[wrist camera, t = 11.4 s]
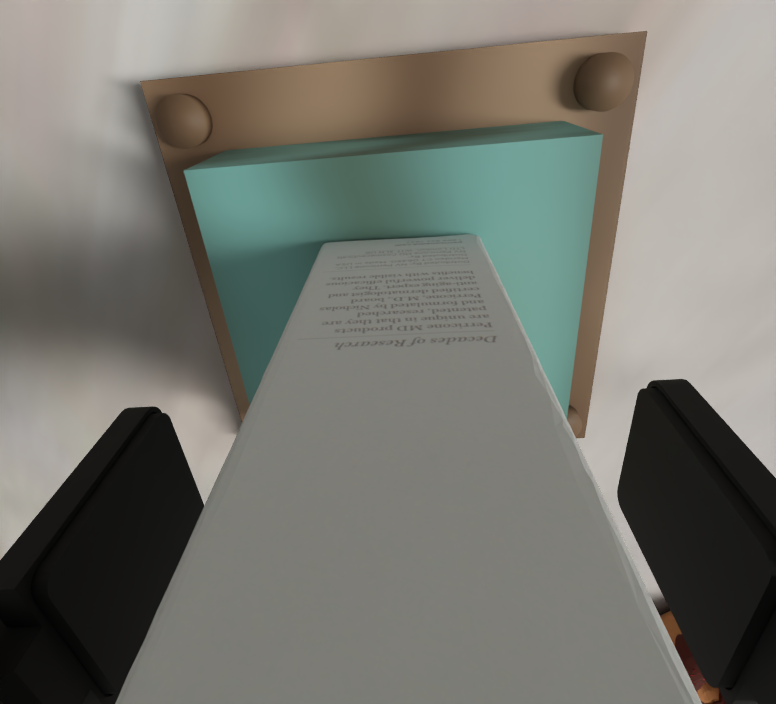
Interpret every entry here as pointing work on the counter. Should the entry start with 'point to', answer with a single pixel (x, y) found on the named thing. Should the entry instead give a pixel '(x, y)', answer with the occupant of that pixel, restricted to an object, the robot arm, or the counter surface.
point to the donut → (691, 663)
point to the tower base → (410, 104)
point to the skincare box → (406, 516)
